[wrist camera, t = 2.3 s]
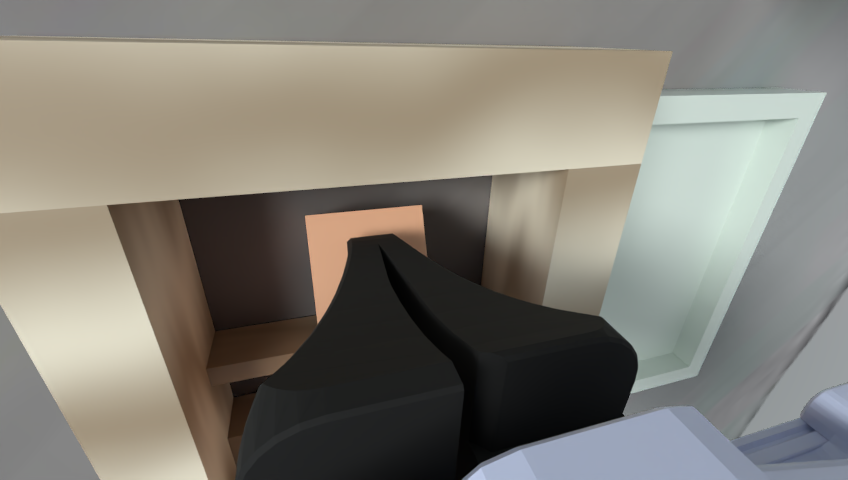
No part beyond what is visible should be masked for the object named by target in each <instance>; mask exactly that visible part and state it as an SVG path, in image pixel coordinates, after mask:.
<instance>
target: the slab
mask: <svg viewBox="0 0 848 480" xmlns="http://www.w3.org/2000/svg"><path fill="white" fill-rule="evenodd" d="M305 221H306V230H307V238H308V247H309V255H310V264H311V272H312V281H313V289H314V298H315V306H316V315H317V323H319V321H320V320H321V318H322V317H323V315H324V314H325V312H326V310H327V309H328V307H329V305H330V303H331V301H332V299H333V297H334V295H335V293H336V291H337V288H338V286H339V283H340V281H341V278H342V276H343V272H344V269H345V265H346V261H347V256H348V251H347V241H348V240H349V239H350V238H355V237H364V236H373V235H382V234H391V233H393V234H394V235H396V236H397V237H399V238H400V239H402V240H403V241H404V242H406V243H407V244H409V245H410V246H412V247H413V248H414V249H416V250H417V251H419V252H420V253H422V254H423V255H425V256H426V257H427V249H426V240H425V231H424V221H423V212H422V205H416V206H405V207H394V208H383V209H372V210H361V211H350V212H339V213H329V214H318V215H307V216H305Z"/></svg>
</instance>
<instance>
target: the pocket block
mask: <svg viewBox="0 0 848 480" xmlns="http://www.w3.org/2000/svg"><path fill="white" fill-rule="evenodd" d="M672 52H673V51H654V50H633V49H612V48H591V47H571V46H521V45H469V44H417V43H366V42H314V41H262V40H210V39H159V38H107V37H55V36H0V305H1V306H2V308H3V310H4V312H5V313H6V315H7V317H8V319H9V320H10V322H11V324H12V326H13V327H14V329H15V331H16V333H17V334H18V336H19V338H20V340H21V341H22V343H23V345H24V347H25V348H26V350H27V352H28V354H29V355H30V357H31V359H32V361H33V362H34V364H35V366H36V368H37V369H38V371H39V373H40V375H41V376H42V378H43V380H44V382H45V383H46V385H47V387H48V389H49V390H50V392H51V394H52V396H53V397H54V399H55V401H56V403H57V404H58V406H59V408H60V410H61V412H62V413H63V415H64V417H65V419H66V420H67V422H68V424H69V426H70V427H71V429H72V431H73V433H74V434H75V436H76V438H77V440H78V441H79V443H80V445H81V447H82V448H83V450H84V452H85V454H86V455H87V457H88V459H89V461H90V462H91V464H92V466H93V468H94V469H95V471H96V473H97V475H98V476H99V478H100V480H235V478H236V469H237V460H238V453H239V448H240V443H241V439H242V435H243V432H244V428H245V424H246V421H247V418H248V415H249V412H250V409H251V406H252V404H253V401H254V398H255V396H256V393H253V394H248V395H243V396H238V397H233V394H232V390H231V386H230V382H236V381H241V380H246V379H251V378H256V377H261V376H267V375H272V374H274V373H275V372H276V371H277V370H278V369H279V368H280V367H281V366H283V365H284V364H285V363H286V362H287V361H288V360H289V359H290V358H291V357H292V355H293V354H294V353H295V352H296V351H297V350H298V348H299V347H300V346H301V345H302V344H303V343H304V342H305V340H306V339H307V338H308V337H309V336H310V334H311V333H312V332H313V330H314V329H315V327H316V326H317V324H318V323H317V315H314V316H308V317H302V318H295V319H289V320H283V321H277V322H270V323H264V324H258V325H252V326H246V327H239V328H233V329H227V330H221V331H215V329H214V325H213V322H212V318H211V315H210V311H209V307H208V304H207V300H206V297H205V293H204V289H203V286H202V282H201V279H200V275H199V271H198V268H197V264H196V261H195V257H194V253H193V250H192V246H191V243H190V239H189V236H188V232H187V228H186V225H185V221H184V218H183V214H182V210H181V207H180V203H179V200H178V199H191V198H204V197H217V196H230V195H243V194H256V193H269V192H282V191H295V190H308V189H320V188H333V187H346V186H359V185H372V184H385V183H398V182H411V181H424V180H437V179H450V178H462V177H475V176H488V175H492V185H491V194H490V204H489V213H488V223H487V232H486V242H485V252H484V261H483V271H482V280H481V286H482V287H485V288H487V289H490V290H493V291H495V292H498V293H501V294H504V295H507V296H510V297H513V298H516V299H519V300H523V301H526V302H530V303H534V304H538V305H542V306H546V307H550V308H555V309H559V310H565V311H571V312H577V313H583V314H589V315H596V316H599V314H600V311H601V307H602V303H603V300H604V296H605V293H606V289H607V285H608V282H609V278H610V275H611V271H612V268H613V264H614V260H615V257H616V253H617V250H618V246H619V242H620V239H621V235H622V232H623V228H624V224H625V221H626V217H627V214H628V210H629V206H630V203H631V199H632V196H633V192H634V188H635V185H636V181H637V178H638V174H639V170H640V167H641V163H642V160H643V156H644V152H645V149H646V145H647V142H648V138H649V134H650V131H651V127H652V124H653V120H654V117H655V113H656V109H657V106H658V102H659V99H660V95H661V91H662V88H663V84H664V81H665V77H666V73H667V70H668V66H669V63H670V59H671V55H672Z"/></svg>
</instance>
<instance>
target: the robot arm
mask: <svg viewBox="0 0 848 480" xmlns="http://www.w3.org/2000/svg"><path fill="white" fill-rule="evenodd" d="M347 251H348V256H347V261H346V265H345V269H344V272H343V276H342V278H341V281H340V283H339V286H338V288H337V291H336V293H335V295H334V297H333V299H332V301H331V303H330V305H329V307H328V309H327V310H326V312H325V314H324V315H323V317H322V318H321V320H320V321H319V323H318V324H317V326H316V327H315V329H314V330H313V332H312V333H311V334H310V336H309V337H308V338H307V339H306V340H305V342H304V343H303V344H302V345H301V346H300V347H299V348H298V350H297V351H296V352H295V353H294V354H293V355H292V357H291V358H290V359H289V360H288V361H287V362H286V363H285V364H284V365H283V366H281V367H280V368H279V369H278V370H277V371H276V372H275V373H274V374H273V375H271V376H270V377H269V378H268V379H267V380H266V381H264V382H263V383H262V384H261V385H260V386H259V388H258V391H257V393H256V396H255V398H254V401H253V404H252V406H251V409H250V412H249V415H248V418H247V421H246V424H245V428H244V432H243V435H242V439H241V443H240V448H239V453H238V460H237V469H236V478H235V480H848V382H847V383H844V384H840V385H837V386H834V387H831V388H827V389H825V390H822V391H821V392H819V393H817V394H816V395H815V396H813V397H812V398H811V399H810V401H809V402H808V403H807V404H806V406H805V407H804V409H803V410H802V412H801V417H800V418H797V419H794V420H791V421H788V422H785V423H782V424H779V425H776V426H773V427H770V428H767V429H764V430H761V431H758V432H755V433H752V434H749V435H746V436H743V437H740V438H737V439H734V440H731V441H729V440H728V439H727V438H726V437H725V436H724V435H723V434H722V433H721V432H720V431H719V430H718V429H717V428H715V427H714V426H713V425H712V424H711V423H710V422H709V421H708V420H707V419H706V418H705V417H704V416H703V415H702V414H701V413H700V412H699V411H698V410H696V409H695V408H694V407H693V406H666V407H657V408H653V409H650V410H646V411H643V412H639V413H636V414H632V415H629V416H624V415H623V414H622V413H623V411H624V408H625V406H626V403H627V401H628V398H629V395H630V393H631V390H632V388H633V385H634V383H635V379H636V375H637V371H638V357H637V353H636V351H635V350H634V348H633V346H632V345H631V344H630V343H629V342H628V341H627V340H626V339H625V338H624V337H623V336H622V335H621V334H620V333H618V332H617V331H616V330H615V329H614V328H613V327H612V326H611V325H610V324H609V323H608V322H607V321H606V320H605V319H604V318H602V317H601V316H596V315H589V314H583V313H577V312H571V311H565V310H559V309H555V308H550V307H546V306H542V305H538V304H534V303H530V302H526V301H523V300H519V299H516V298H513V297H510V296H507V295H504V294H501V293H498V292H495V291H493V290H490V289H487V288H485V287H482V286H480V285H478V284H476V283H473V282H471V281H469V280H467V279H465V278H463V277H460V276H458V275H457V274H455V273H453V272H451V271H449V270H448V269H446V268H444V267H442V266H440V265H439V264H437V263H436V262H434V261H432V260H431V259H429V258H428V257H426V256H425V255H423V254H422V253H420V252H419V251H417V250H416V249H414V248H413V247H412V246H410V245H409V244H407V243H406V242H404V241H403V240H402V239H400V238H399V237H397V236H396V235H394V234H393V233H391V234H382V235H373V236H364V237H355V238H350V239H349V240H348V241H347Z"/></svg>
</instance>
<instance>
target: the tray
mask: <svg viewBox="0 0 848 480" xmlns="http://www.w3.org/2000/svg"><path fill="white" fill-rule="evenodd" d="M825 96H826V92H817V91H808V90H799V89H790V88H718V89H662V91H661V95H660V99H659V102H658V106H657V109H656V113H655V117H654V120H653V124H652V127H651V131H650V134H649V138H648V142H647V145H646V149H645V152H644V156H643V160H642V163H641V167H640V170H639V174H638V178H637V181H636V185H635V188H634V192H633V196H632V199H631V203H630V206H629V210H628V214H627V217H626V221H625V224H624V228H623V232H622V235H621V239H620V242H619V246H618V250H617V253H616V257H615V260H614V264H613V268H612V271H611V275H610V278H609V282H608V285H607V289H606V293H605V296H604V300H603V303H602V307H601V311H600V314H599V316H601V317H602V318H604V319H605V320H606V321H607V322H608V323H609V324H610V325H611V326H612V327H613V328H614V329H615V330H616V331H617V332H618V333H620V334H621V335H622V336H623V337H624V338H625V339H626V340H627V341H628V342H629V343H630V344H631V345H632V346H633V348H634V350H635V351H636V353H637V357H638V371H637V375H636V379H635V383H634V385H633V388H632V390H631V393H635V392H639V391H643V390H646V389H650V388H654V387H658V386H661V385H665V384H669V383H673V382H676V381H680V380H684V379H688V378H691V377H695V376H697V375H698V373H699V371H700V368H701V366H702V364H703V362H704V360H705V357H706V355H707V353H708V351H709V349H710V347H711V344H712V342H713V340H714V338H715V336H716V333H717V331H718V329H719V327H720V325H721V323H722V320H723V318H724V316H725V314H726V312H727V309H728V307H729V305H730V303H731V301H732V299H733V296H734V294H735V292H736V290H737V288H738V285H739V283H740V281H741V279H742V277H743V275H744V272H745V270H746V268H747V266H748V264H749V261H750V259H751V257H752V255H753V253H754V251H755V248H756V246H757V244H758V242H759V240H760V237H761V235H762V233H763V231H764V229H765V226H766V224H767V222H768V220H769V218H770V216H771V213H772V211H773V209H774V207H775V205H776V202H777V200H778V198H779V196H780V194H781V192H782V189H783V187H784V185H785V183H786V181H787V178H788V176H789V174H790V172H791V170H792V168H793V165H794V163H795V161H796V159H797V157H798V154H799V152H800V150H801V148H802V146H803V144H804V141H805V139H806V137H807V135H808V133H809V130H810V128H811V126H812V124H813V122H814V120H815V117H816V115H817V113H818V111H819V109H820V106H821V104H822V102H823V100H824V98H825ZM631 393H630V394H631Z"/></svg>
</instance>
